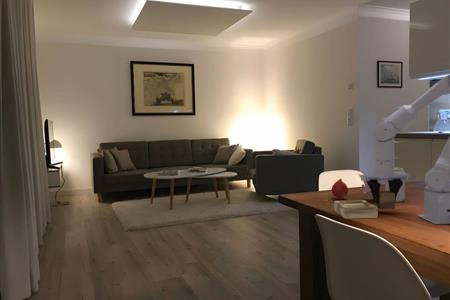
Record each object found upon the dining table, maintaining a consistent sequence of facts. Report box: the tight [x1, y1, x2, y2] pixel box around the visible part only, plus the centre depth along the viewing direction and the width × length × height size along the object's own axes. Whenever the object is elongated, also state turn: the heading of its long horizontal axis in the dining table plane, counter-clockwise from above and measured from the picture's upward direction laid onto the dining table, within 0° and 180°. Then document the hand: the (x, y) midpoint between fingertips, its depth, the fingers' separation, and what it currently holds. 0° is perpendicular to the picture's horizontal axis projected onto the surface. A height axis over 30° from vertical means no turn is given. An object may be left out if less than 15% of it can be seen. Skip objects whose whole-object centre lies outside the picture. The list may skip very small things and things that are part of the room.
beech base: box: [333, 199, 379, 220], centre depth 118 cm, size 10×10×3 cm
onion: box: [331, 178, 349, 201], centre depth 139 cm, size 6×6×8 cm
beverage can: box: [384, 167, 406, 203], centre depth 136 cm, size 6×6×12 cm
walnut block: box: [373, 190, 396, 210], centre depth 119 cm, size 4×4×5 cm
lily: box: [357, 173, 373, 200], centre depth 135 cm, size 12×12×10 cm
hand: (384, 202), depth 119 cm, fingers closed on walnut block, 4 cm apart
